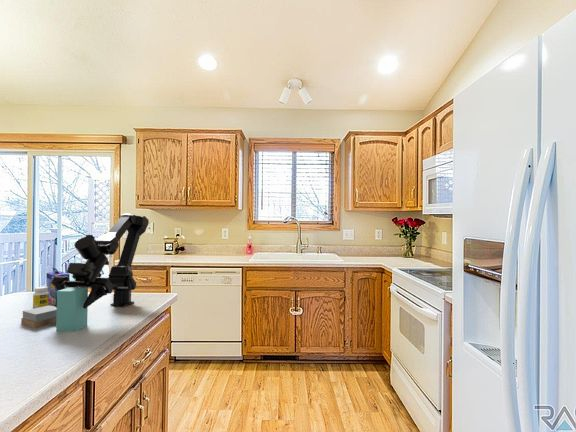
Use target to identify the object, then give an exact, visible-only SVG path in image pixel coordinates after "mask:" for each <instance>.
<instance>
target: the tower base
mask: <svg viewBox="0 0 576 432" xmlns="http://www.w3.org/2000/svg"><path fill="white" fill-rule="evenodd" d="M56 318H57V317H55V318H51V319H47V320H43V321H39V322H33V321H30V320H26V319H23V317H21V321H20V322H21V323H20V324H22V325H24V326H27V327H29V328H32V329H38V328H42V327H46V325H47V326H51V325H55V324H56Z"/></svg>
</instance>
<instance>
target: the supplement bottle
mask: <svg viewBox="0 0 576 432" xmlns="http://www.w3.org/2000/svg"><path fill="white" fill-rule="evenodd" d="M47 291H48V287H47V286H37V287H34V293H33V295H32V309H34V308H39V307H44V306H49V302H48V297H49V293H48V292H47Z"/></svg>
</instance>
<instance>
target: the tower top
mask: <svg viewBox="0 0 576 432" xmlns="http://www.w3.org/2000/svg"><path fill="white" fill-rule="evenodd" d="M55 317H57V308H56V307H55V305H54V306H53V305H49V304H48V306H44V307H39V308H34V309H33V308H30V309H24V310H22V318H23V319H26V320H30V321H33V322H39V321H43V320H47V319H51V318H55Z"/></svg>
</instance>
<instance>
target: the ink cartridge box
mask: <svg viewBox="0 0 576 432" xmlns="http://www.w3.org/2000/svg"><path fill="white" fill-rule="evenodd" d="M52 270H53V271H51V272H46V287H48V291H47V292H48V293H49V297H48V304H51V305H52V306H53V305H54V306H55V303H56V297H57V289H56V288H55V287H54V286H53V285H52V284H51V281H52V280H53V278H54V277H57V276H58V277H67V278H68V279H69V280H70V273H67V272H64V271H58V269H57V268H56V267H52Z"/></svg>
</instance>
